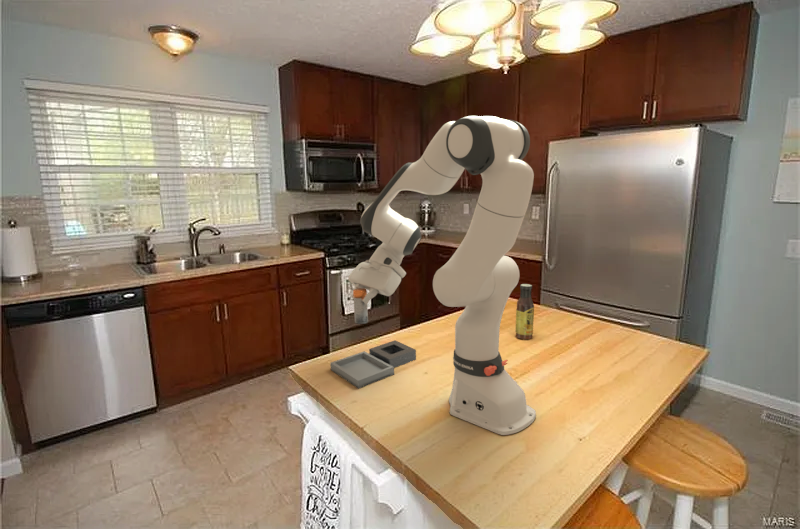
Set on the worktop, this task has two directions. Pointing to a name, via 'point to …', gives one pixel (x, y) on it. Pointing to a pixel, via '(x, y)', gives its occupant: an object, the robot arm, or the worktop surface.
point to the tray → (362, 369)
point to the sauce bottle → (525, 313)
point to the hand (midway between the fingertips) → (358, 300)
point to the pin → (360, 306)
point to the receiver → (394, 353)
